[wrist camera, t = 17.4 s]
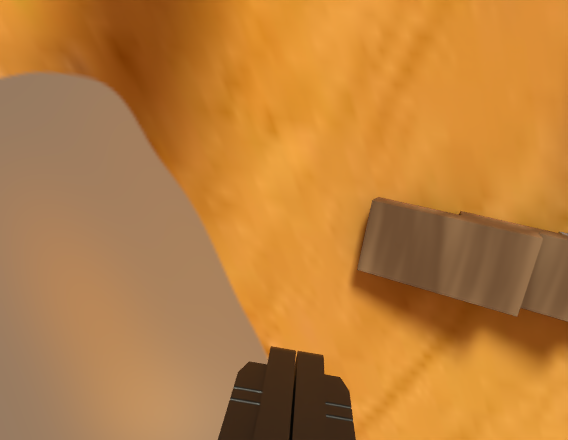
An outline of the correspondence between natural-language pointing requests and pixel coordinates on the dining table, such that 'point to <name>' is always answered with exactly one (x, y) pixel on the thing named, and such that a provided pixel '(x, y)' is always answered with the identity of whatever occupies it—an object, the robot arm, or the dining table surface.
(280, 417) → the robot arm
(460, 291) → the domino
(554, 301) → the domino
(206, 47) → the dining table surface
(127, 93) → the dining table surface
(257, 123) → the dining table surface
